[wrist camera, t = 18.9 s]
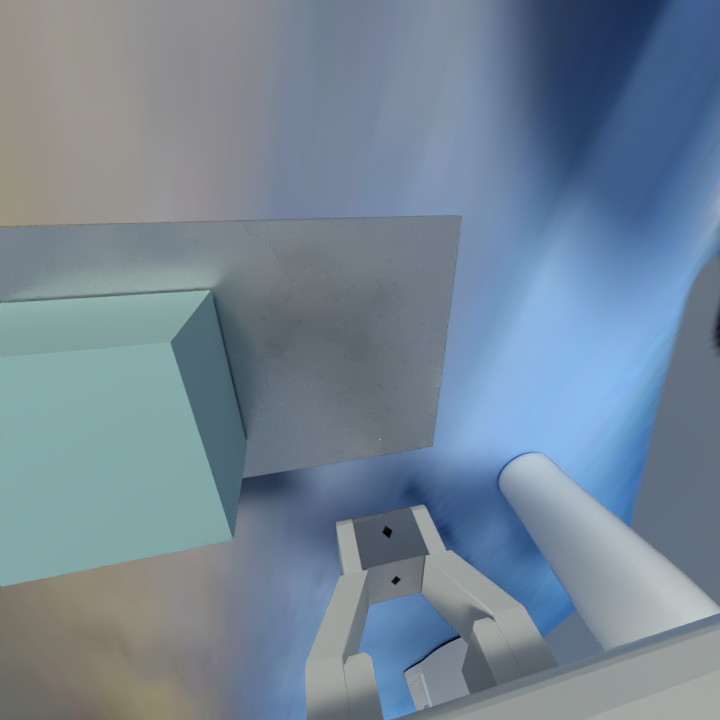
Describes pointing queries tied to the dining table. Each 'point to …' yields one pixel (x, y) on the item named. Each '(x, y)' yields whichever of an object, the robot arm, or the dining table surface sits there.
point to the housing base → (282, 317)
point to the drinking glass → (600, 557)
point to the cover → (114, 432)
